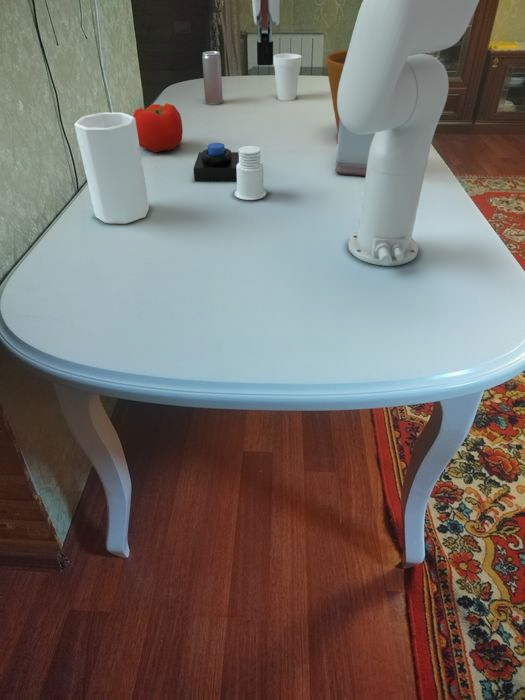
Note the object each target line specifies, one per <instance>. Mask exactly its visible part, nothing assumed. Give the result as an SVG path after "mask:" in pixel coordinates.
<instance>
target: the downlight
mask: <svg viewBox="0 0 525 700" xmlns="http://www.w3.org/2000/svg"><path fill="white" fill-rule="evenodd" d="M238 152H239V163H238V164H237V165H236V170H237V182H236V190H235V191H234V196H235V197H236V198H237V199H240V200H243V201H244V200H245V201H256V200H260V199H262V198H264V197H266V195H267V191H266V190H265V189H264V163H262V162H261V148H260V147H259V146H255V145H244V146H241V147H239V148H238Z"/></svg>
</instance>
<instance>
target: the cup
mask: <svg viewBox="0 0 525 700" xmlns="http://www.w3.org/2000/svg"><path fill="white" fill-rule="evenodd" d="M74 129H75V134H76V138H77V143H78V147H79V151H80V155H81V160H82V164H83V169H84V173H85V177H86V178H85V179H86V181H87V187H88V190H89V195H90V199H91V204H92V207H93V212H94V216H95V218H97V219H98V220H100V221H102V222H103V223H105V224H110V225H111V224H114V225H116V224H119V225H120V224H121V225H122V224H123V225H128V224H130V223H132V222H133V223H134V222H136V221H138V220H141V219H144V218H145V217H146V216H147V214H148V212H149V210H150V206H149V205H150V204H149V199H148V193H147V186H146V180H145V179H146V178H145V172H144V166H143V160H142V154H141V147H140V146H139V140H138V133H137V127H136V121H135V118H134V117H133V115H130V114H127V113H124V112H97V113H93V114H88V115H84V116H81V117H80V118H79V119H78V120H77V121H76V122H75V123H74Z"/></svg>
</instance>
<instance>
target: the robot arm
mask: <svg viewBox="0 0 525 700" xmlns="http://www.w3.org/2000/svg"><path fill="white" fill-rule="evenodd" d="M479 2H480V0H362V2H361V5H360V7H359V10H358V13H357V16H356V20H355V24H354V27H353V31H352V34H351V38H350V41H349V46H348V48H347V50H348V52H347V56H346V60H345V63H344V67H343V71H342V74H341V78H340V82H339V87H338V94H337V108H338V114H339V117H340V120H341V122H342V124H343V125H344V126H345V128H346V129H348V130H349V131H351V132H353V133H355V134H362V135H364V134H372V133H375V135H374V138H373V140H372V143H371V146H370V150H369V156H368V162H367V170H366V176H365V177H364V186H363V187H364V188H363V195H362V202H361V210H360V218H359V219H360V220H359V226H358V231H357V232H355V233H353V234H352V235H351V236H350V237H349V239H348V250H349V252H350V253H351V254H352V255H353V256H354V257H355V258H357V259H358V260H361V261H363V262H365V263H368V264H372V265H377V266H384V267H385V266H387V267H388V266H389V267H390V266H391V267H392V266H400V265H404V264H407V263H409V262H411V261H413V260H414V259H415V258H416V257H417V255H418V252H419V244H418V243H417V241H416V240H415V239H414V238H413V232H414V228H415V223H416V217H417V213H418V209H419V208H418V207H419V203H420V198H421V193H422V188H423V183H424V178H425V173H426V169H427V166H428V165H427V164H428V160H429V155H430V150H431V146H432V142H433V139H434V135H435V132H436V130H437V127H438V124H439V121H440V118H441V117H442V114H443V111H444V108H445V107H446V103H447V99H448V95H449V89H450V87H449V86H450V85H449V84H450V83H449V76H448V72H447V69H446V68H445V66H444V65H443V63H442V61H440V60H439V59H438V58H436V57H434V56H432V55H430V53H435V52H439V51H444V50H446V49H449V48H451V47H453V46H455V45H456V44H457V43H459V41H460V40H461V39H462V38H463V36H464V34H465V32H466V31H467V29H468V27H469V25H470V23H471V20H472V18H473V16H474V13H475V12H476V9H477V7H478V6H479V5H478V4H479ZM251 4H252V16H253V24H254V25H256V26H257V41H256V65H258V66H272V65H273V66H274V64H273V58H274V40H273V23H275V26H279V24H280V15H281V14H280V13H281V0H251ZM428 53H429V54H428Z"/></svg>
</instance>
